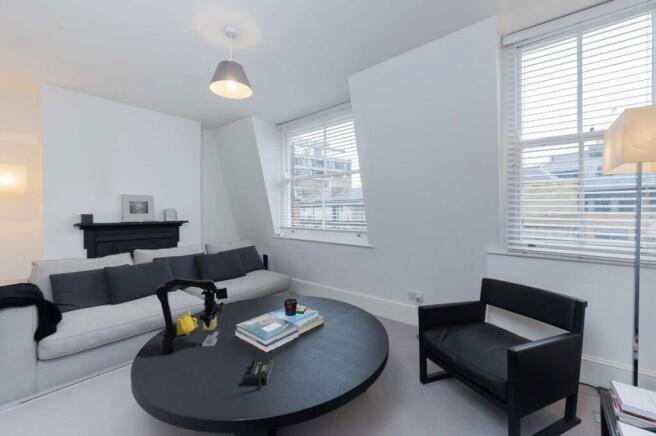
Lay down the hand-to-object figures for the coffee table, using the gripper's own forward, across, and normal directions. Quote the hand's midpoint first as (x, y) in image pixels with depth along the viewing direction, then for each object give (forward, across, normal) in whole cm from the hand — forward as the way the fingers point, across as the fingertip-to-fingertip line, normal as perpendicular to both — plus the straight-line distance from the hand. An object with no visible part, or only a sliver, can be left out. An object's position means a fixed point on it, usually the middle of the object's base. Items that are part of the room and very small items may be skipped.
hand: (210, 325), depth 175 cm
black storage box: (+12, -38, -36) cm, 53 cm away
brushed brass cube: (+1, 0, 0) cm, 1 cm away
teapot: (+12, +17, +21) cm, 30 cm away
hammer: (+11, +5, 0) cm, 12 cm away
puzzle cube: (+11, +27, -54) cm, 61 cm away
